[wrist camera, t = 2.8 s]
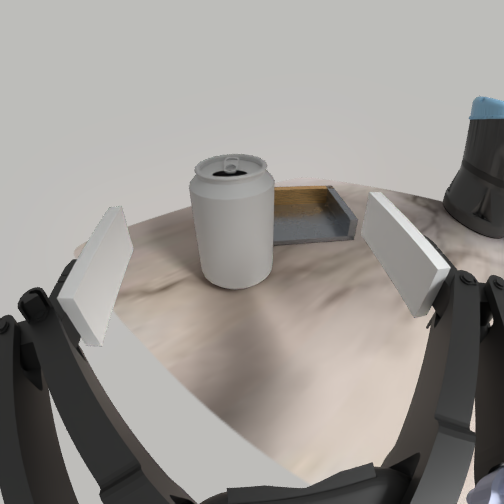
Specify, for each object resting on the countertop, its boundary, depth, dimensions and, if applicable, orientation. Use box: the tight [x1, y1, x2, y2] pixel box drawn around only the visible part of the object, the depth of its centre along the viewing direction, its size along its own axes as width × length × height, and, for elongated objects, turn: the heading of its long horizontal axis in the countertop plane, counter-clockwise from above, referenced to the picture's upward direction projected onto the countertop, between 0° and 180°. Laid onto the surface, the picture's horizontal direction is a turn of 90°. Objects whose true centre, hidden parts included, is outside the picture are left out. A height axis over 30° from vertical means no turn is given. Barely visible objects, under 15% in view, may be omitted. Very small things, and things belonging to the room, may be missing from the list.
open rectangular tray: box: [273, 186, 358, 245], centre depth 37 cm, size 12×10×3 cm
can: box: [189, 154, 274, 290], centre depth 27 cm, size 8×8×12 cm
